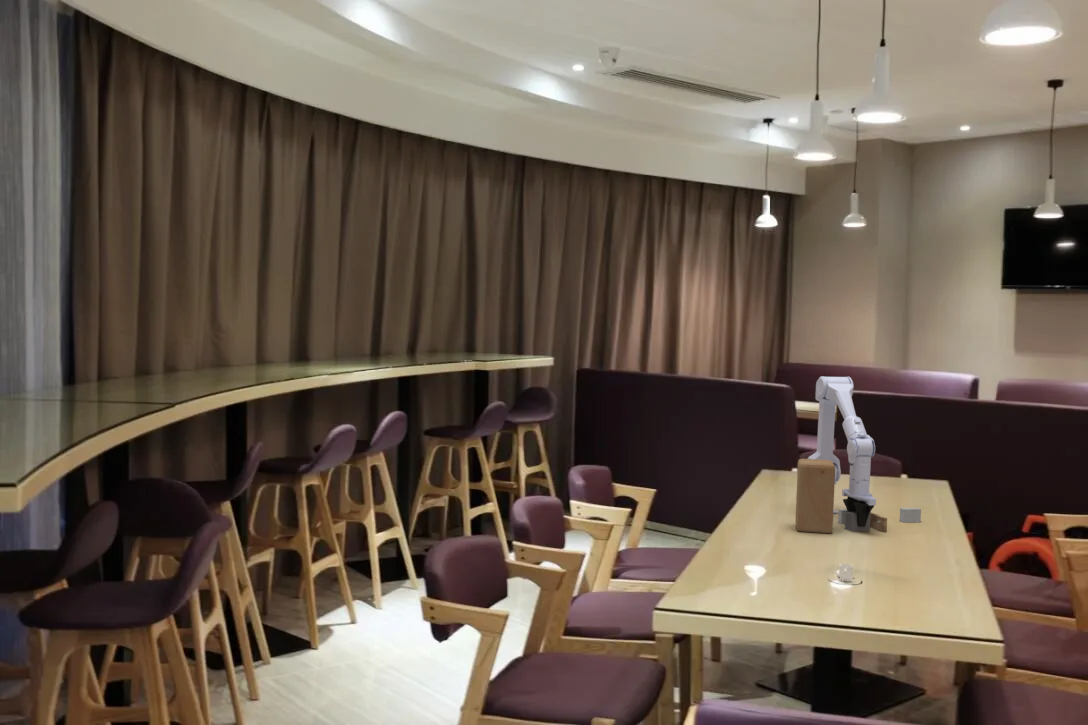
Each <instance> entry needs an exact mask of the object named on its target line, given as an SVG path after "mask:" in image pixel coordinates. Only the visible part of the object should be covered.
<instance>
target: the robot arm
mask: <svg viewBox="0 0 1088 725" xmlns="http://www.w3.org/2000/svg"><path fill="white" fill-rule="evenodd" d="M854 385H855V384H854V381H853V379H852V378H851V377H850V376H824V375H823V376H820V377H819V378H818V379H817V380H816V383H815V400H816V401H818V403H819V405H818V421H817V438H816V439H817V441H816V451H815V452H814V453H813V454H811V455H809V456H808V457H807V459H817V460H830V461H832V462H833V464H834V466H835V485H837V482H839V480H840V479H841V474H842V473H841V472H842V470H841V463H840V462H841V461H840V459H839V458H838V456H836V455H835V454H834V439H835V438H834V437H835V423H836V422H835V421H836V406H838V409H839V411H840V414H841V415H842V418H843V419H844V420H843V422H842V424H841V425H842V429H843V431H844V434H845V437H846V439H847V446H846V453H847V455H848V458H847V460H848V463H849V480H848V481H849V482H848V488H844V489H843V488H842V489H841V490H842V491H841V495H842V497H847V498H843V500H842V501H843V503H844V506H845V509H847V512H856V513H857V524H858V527H865V525H866V522H867V519H868V516H869V514H870V512H872V510H874V508H875V506H877V498H875V497H873V493H870V484H871V483H870V482H871V464H872V463H871V462H872V458H873V457H874V456H875V453H876V445H875V440H874V439H873V437H871V436H870V435H869V434H867V431H866V429H865V425H864V423H863V420H862V418H861V417H859V416H857V414H856V410H855V407H854V402H853V398H852V397H853V394H854V387H855V386H854ZM833 514H839V510H836V509H834V508H833Z"/></svg>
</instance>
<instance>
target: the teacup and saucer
mask: <svg viewBox="0 0 1088 725" xmlns="http://www.w3.org/2000/svg"><path fill="white" fill-rule="evenodd" d="M838 566H839V567H838V570H836V571H835V576H836V575H837V576H838V577H837V578H839V580H840V579H841V580H843V581H850V580H852V579H851V578H852V577H853V570H854V566H853V565H852V564H849V563H840V564H839V565H838ZM841 580H840V581H841ZM843 581H842V582H843ZM850 582H851V581H850Z"/></svg>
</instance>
